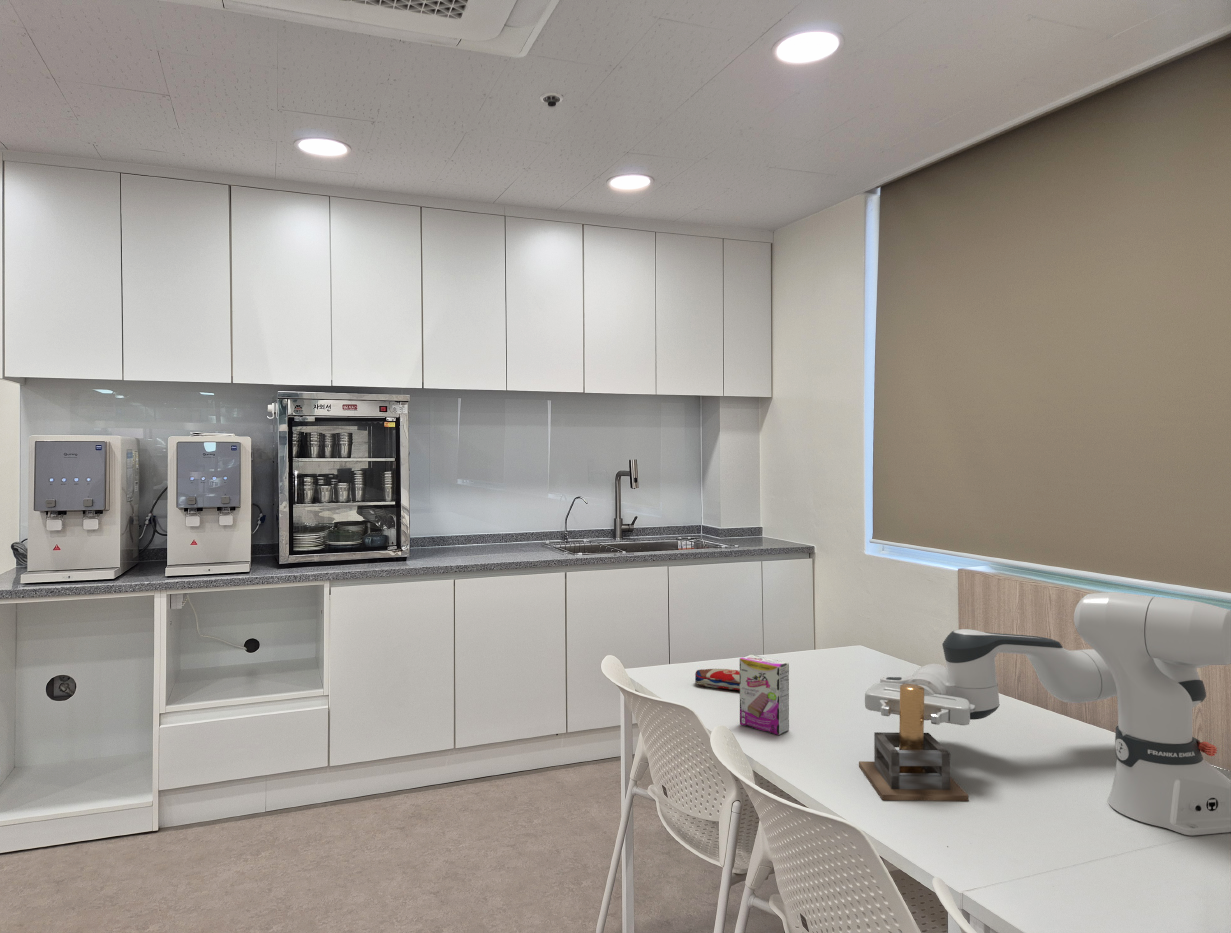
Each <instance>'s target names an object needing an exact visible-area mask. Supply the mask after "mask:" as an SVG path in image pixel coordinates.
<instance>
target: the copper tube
mask: <svg viewBox="0 0 1231 933" xmlns="http://www.w3.org/2000/svg"><path fill="white" fill-rule="evenodd" d="M898 722H899V728H898V729H899V732H898V733H899V747H898V750H923V744H924V733H925V732H924V731H925V730H924V728H925V720H924V687H922V686H919V685H915V684H902V685H900V715H899V721H898ZM899 773H923V766H899Z"/></svg>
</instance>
